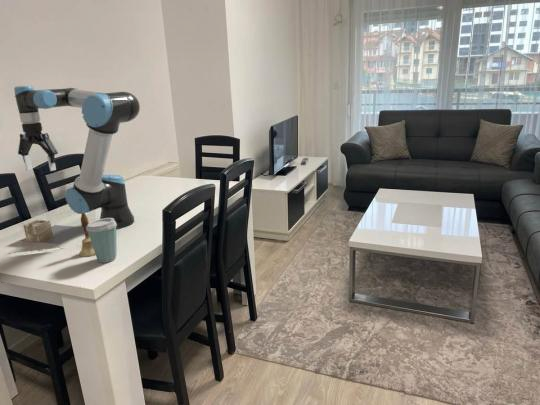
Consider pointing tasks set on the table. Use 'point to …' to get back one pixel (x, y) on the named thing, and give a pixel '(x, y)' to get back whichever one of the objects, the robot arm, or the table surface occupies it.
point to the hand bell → (86, 239)
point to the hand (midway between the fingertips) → (41, 170)
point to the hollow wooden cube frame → (38, 231)
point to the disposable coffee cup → (103, 238)
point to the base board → (62, 234)
